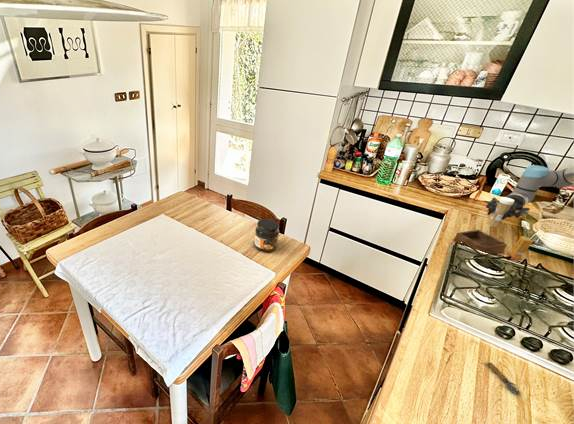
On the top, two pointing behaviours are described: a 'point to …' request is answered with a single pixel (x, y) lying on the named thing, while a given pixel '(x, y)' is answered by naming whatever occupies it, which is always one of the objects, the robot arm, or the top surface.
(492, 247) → the holder
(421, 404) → the top surface
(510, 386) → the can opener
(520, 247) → the supplement box
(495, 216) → the sprinkles bottle
